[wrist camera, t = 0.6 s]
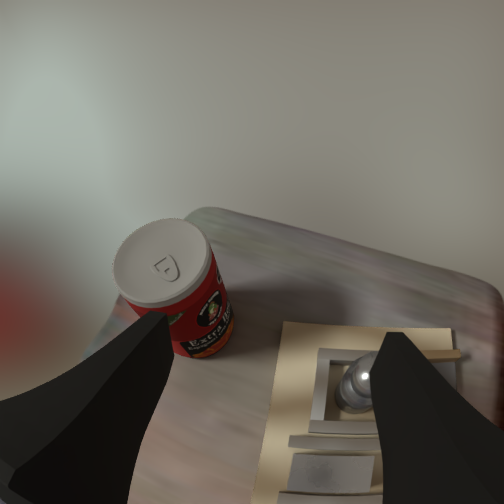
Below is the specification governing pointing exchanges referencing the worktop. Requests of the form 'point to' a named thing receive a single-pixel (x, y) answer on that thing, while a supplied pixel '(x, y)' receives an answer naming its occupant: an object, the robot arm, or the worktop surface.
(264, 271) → the worktop surface
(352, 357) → the socket board
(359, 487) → the gray rectangular block
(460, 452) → the robot arm
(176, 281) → the canned food
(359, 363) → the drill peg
